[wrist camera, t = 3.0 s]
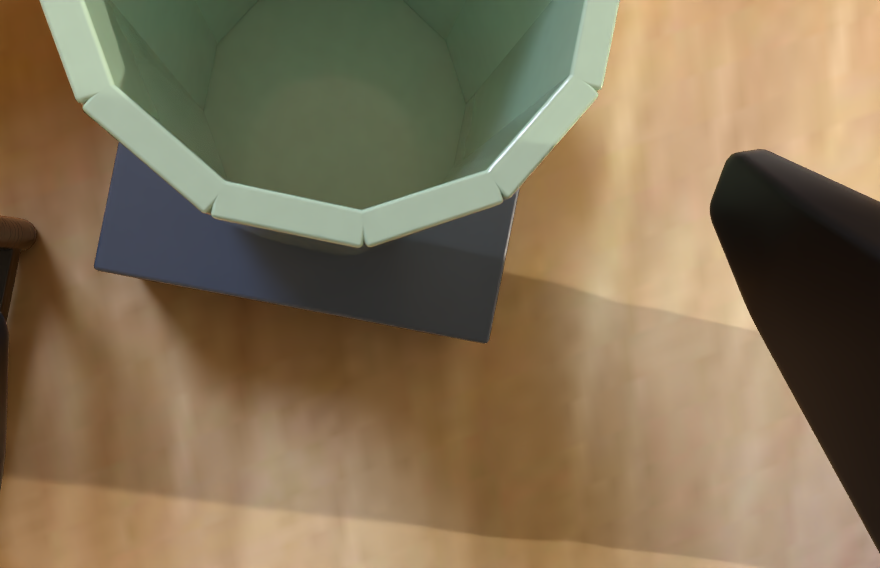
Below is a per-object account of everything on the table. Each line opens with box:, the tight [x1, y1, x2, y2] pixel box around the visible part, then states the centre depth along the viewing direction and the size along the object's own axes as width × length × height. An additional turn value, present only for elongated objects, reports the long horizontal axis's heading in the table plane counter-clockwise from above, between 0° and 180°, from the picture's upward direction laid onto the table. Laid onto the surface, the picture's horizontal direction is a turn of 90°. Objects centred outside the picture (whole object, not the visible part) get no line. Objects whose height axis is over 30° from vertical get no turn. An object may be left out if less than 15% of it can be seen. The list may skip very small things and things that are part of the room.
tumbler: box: [39, 0, 620, 256], centre depth 11 cm, size 6×6×8 cm
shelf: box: [94, 142, 519, 343], centre depth 15 cm, size 9×9×5 cm
